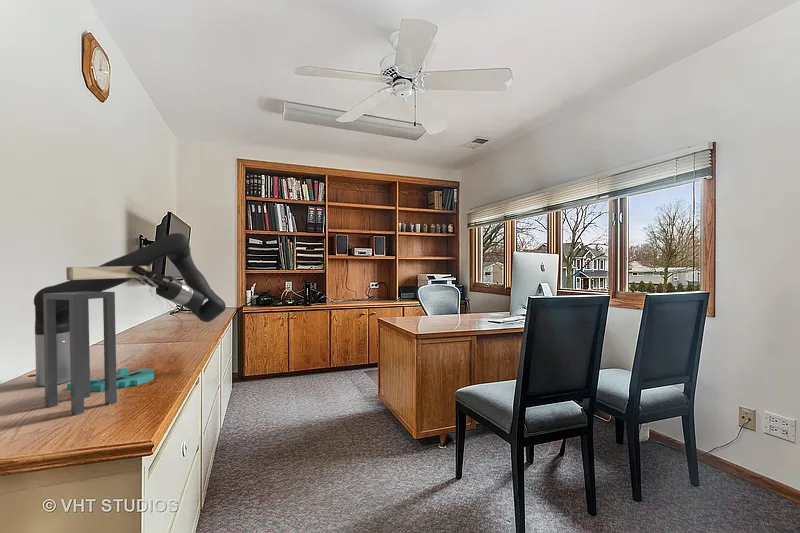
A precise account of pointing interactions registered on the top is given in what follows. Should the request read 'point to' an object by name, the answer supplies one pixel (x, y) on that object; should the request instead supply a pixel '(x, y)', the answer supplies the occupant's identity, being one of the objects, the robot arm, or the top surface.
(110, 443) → the top surface
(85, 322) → the stand
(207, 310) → the robot arm
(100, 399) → the top surface
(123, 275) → the block
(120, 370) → the alien figure
